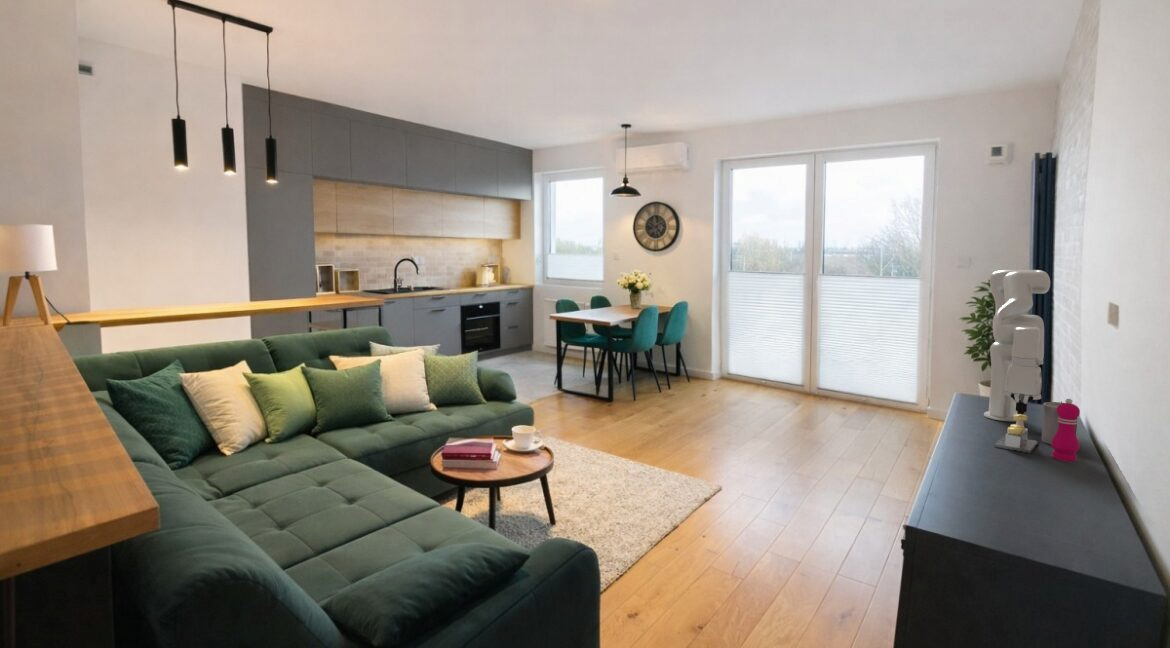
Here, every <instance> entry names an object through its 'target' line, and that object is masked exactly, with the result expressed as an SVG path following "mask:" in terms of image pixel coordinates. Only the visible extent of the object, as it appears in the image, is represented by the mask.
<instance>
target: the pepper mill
mask: <svg viewBox="0 0 1170 648" xmlns="http://www.w3.org/2000/svg"><path fill="white" fill-rule="evenodd" d="M1080 411H1081V410H1080V408H1079V406H1078V405H1076V404H1073V400H1072V398H1066V399H1065V401H1064V402H1062V404H1060V405H1059V406H1058V407H1057V410H1056V412H1057V414H1058V415H1059V417H1058V420H1057V421H1058V422H1059V428H1058V431H1057V433H1056V434H1055V436H1054V437H1053V439H1052V443H1051V444H1050V445H1051V448H1052V449H1053V450H1052V453H1051V455H1052V458H1054V459H1056V460H1059V461H1064V462H1077V459H1078V458H1077V454H1076V453H1077V452H1079V450H1080V441H1079V440H1078V438H1077V433H1076V434H1075V424H1077V425H1078V417H1080V415H1081V412H1080ZM1076 418H1077V419H1076Z"/></svg>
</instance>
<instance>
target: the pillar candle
mask: <svg viewBox="0 0 1170 648" xmlns="http://www.w3.org/2000/svg"><path fill="white" fill-rule="evenodd" d="M1062 403H1063V402H1062V401H1059V402H1058V401H1047V402H1043V406H1042V407H1043V411H1042V421H1041V422H1042V424H1041V442H1043V443H1046V444H1048V445H1051V443H1052V439H1053V437H1054V436H1055V434H1056V433H1057V431H1058V428H1059V422H1058V421H1057V420H1058V417H1059V415H1058V414H1057V412H1056V410H1057V407H1058V406H1059V405H1060V404H1062ZM1076 419H1077V420H1078V417H1077V418H1076ZM1077 426H1078V423H1077V424H1075V434H1076V435H1077V430H1078V429H1077V428H1078V427H1077Z"/></svg>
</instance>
